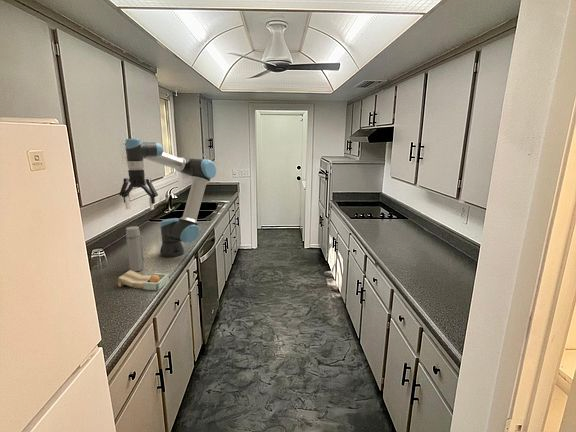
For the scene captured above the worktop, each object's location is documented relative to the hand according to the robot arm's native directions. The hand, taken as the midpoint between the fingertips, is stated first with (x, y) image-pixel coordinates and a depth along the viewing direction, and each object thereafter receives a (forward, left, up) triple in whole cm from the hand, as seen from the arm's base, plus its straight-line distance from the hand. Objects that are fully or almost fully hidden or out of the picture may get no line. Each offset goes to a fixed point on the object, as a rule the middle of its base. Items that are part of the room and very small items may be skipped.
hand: (140, 209), depth 173 cm
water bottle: (-4, -7, -37) cm, 38 cm away
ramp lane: (+13, +2, -37) cm, 39 cm away
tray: (+13, +13, -37) cm, 41 cm away
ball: (+13, +11, -37) cm, 40 cm away
